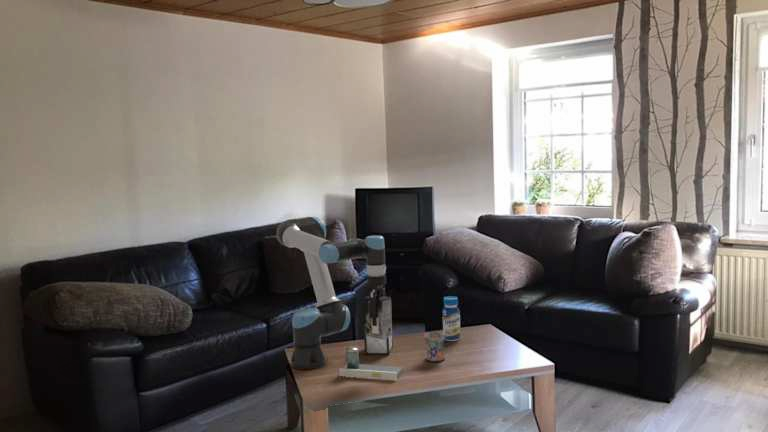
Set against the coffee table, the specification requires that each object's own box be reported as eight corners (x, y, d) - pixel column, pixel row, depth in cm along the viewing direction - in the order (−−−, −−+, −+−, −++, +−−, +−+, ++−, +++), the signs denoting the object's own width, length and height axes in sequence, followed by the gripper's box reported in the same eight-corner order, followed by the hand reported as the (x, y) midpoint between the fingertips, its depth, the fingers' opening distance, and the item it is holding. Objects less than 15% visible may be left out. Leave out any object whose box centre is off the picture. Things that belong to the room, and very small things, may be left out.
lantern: (393, 347, 283) (390, 287, 280) (389, 355, 272) (386, 293, 269) (369, 347, 284) (366, 287, 282) (364, 355, 273) (361, 293, 271)
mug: (448, 362, 260) (447, 337, 258) (426, 363, 259) (425, 339, 257) (442, 353, 271) (441, 329, 270) (421, 354, 270) (420, 331, 269)
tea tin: (344, 369, 250) (344, 350, 249) (349, 365, 255) (348, 346, 254) (356, 370, 249) (355, 351, 248) (361, 365, 254) (360, 347, 253)
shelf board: (339, 376, 248) (339, 368, 248) (348, 368, 258) (347, 360, 257) (396, 380, 241) (395, 373, 240) (402, 371, 250) (402, 364, 250)
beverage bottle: (459, 335, 295) (458, 295, 293) (462, 341, 287) (460, 299, 285) (442, 336, 295) (440, 296, 293) (444, 342, 287) (442, 300, 285)
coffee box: (365, 336, 247) (363, 297, 245) (375, 332, 252) (374, 294, 250) (383, 339, 241) (381, 299, 240) (393, 335, 246) (391, 296, 245)
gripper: (377, 280, 233) (379, 338, 236) (393, 269, 253) (395, 323, 255) (358, 279, 235) (361, 337, 238) (375, 269, 255) (378, 322, 257)
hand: (379, 330), depth 246 cm, fingers closed on coffee box, 8 cm apart
